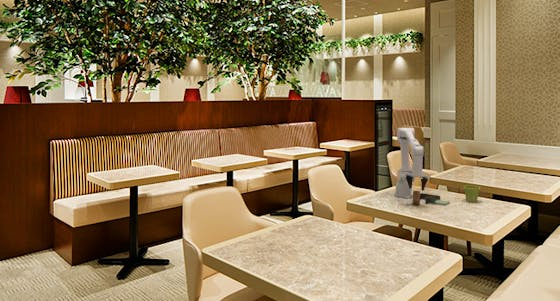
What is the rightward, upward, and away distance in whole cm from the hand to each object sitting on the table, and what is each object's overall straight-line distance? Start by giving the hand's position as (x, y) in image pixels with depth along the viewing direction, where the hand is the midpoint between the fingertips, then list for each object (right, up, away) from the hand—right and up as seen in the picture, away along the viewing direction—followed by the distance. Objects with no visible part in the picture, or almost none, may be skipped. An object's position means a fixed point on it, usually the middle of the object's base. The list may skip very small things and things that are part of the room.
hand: (416, 189), depth 252 cm
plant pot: (+36, -8, +8) cm, 38 cm away
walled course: (+9, -8, +8) cm, 14 cm away
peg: (0, -9, +1) cm, 9 cm away
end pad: (+16, -9, +3) cm, 18 cm away
